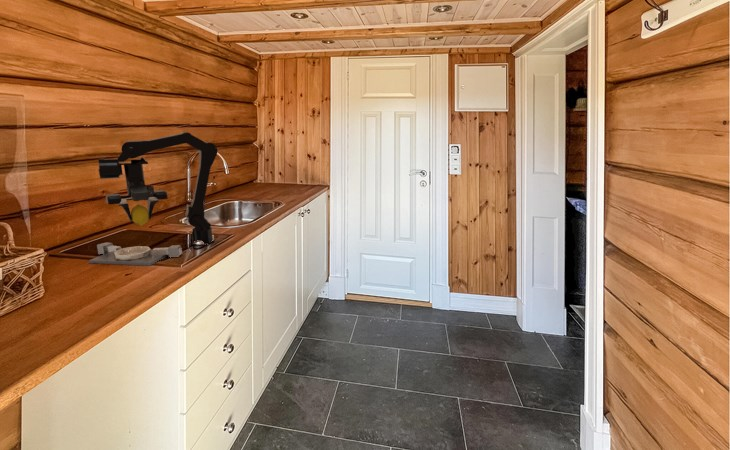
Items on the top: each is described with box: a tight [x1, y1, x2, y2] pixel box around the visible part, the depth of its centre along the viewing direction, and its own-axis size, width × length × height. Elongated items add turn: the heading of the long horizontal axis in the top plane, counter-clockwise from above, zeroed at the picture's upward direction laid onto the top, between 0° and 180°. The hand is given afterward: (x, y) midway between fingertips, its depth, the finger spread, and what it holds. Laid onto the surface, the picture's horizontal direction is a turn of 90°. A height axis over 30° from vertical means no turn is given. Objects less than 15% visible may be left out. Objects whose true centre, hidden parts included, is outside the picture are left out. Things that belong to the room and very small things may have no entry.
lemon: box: [130, 203, 149, 227], centre depth 145 cm, size 6×6×8 cm
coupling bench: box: [88, 242, 183, 267], centre depth 140 cm, size 31×14×4 cm, turn 82°
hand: (140, 220), depth 146 cm, fingers closed on lemon, 5 cm apart
